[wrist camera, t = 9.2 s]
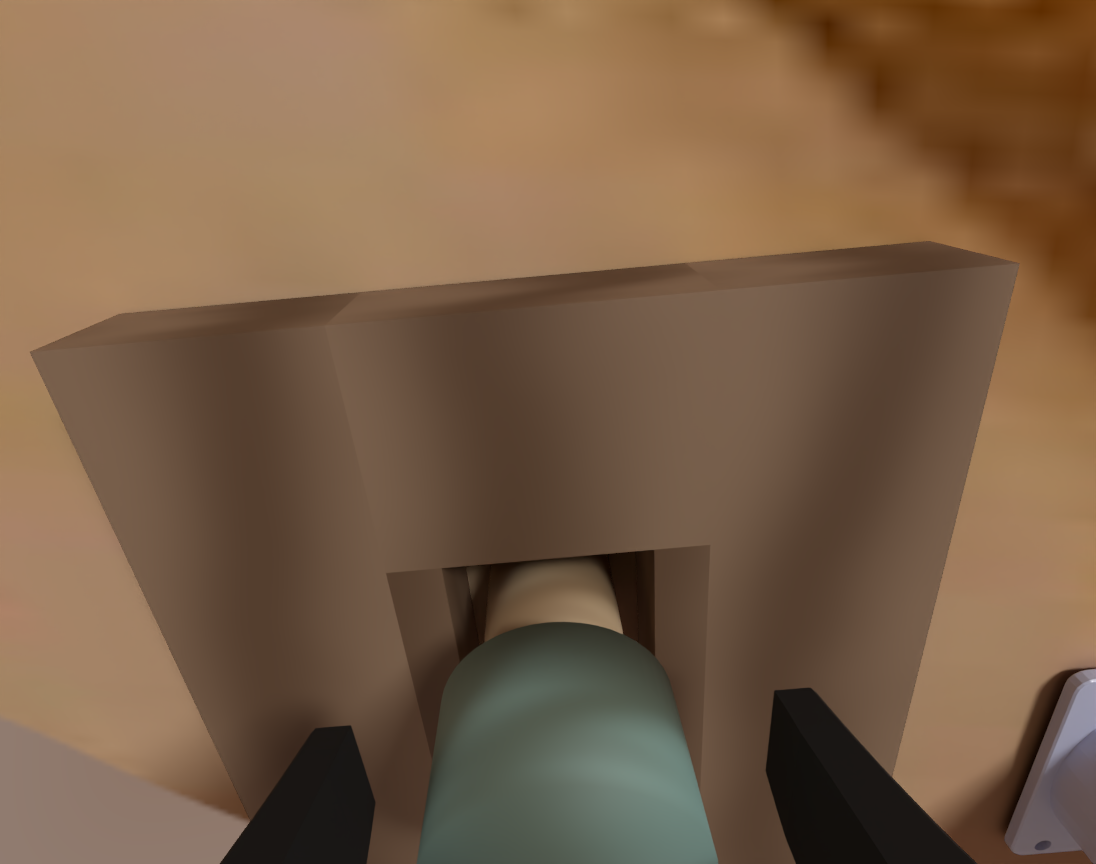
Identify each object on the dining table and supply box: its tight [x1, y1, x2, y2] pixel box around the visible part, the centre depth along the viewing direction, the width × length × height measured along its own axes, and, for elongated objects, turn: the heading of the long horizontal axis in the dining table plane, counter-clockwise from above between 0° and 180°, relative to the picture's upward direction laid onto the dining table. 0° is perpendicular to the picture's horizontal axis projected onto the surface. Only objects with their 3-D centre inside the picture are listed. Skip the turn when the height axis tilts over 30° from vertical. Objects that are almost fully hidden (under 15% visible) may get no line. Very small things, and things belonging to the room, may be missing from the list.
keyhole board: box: [30, 241, 1020, 864], centre depth 16 cm, size 16×22×2 cm
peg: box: [417, 554, 718, 864], centre depth 12 cm, size 4×4×7 cm
